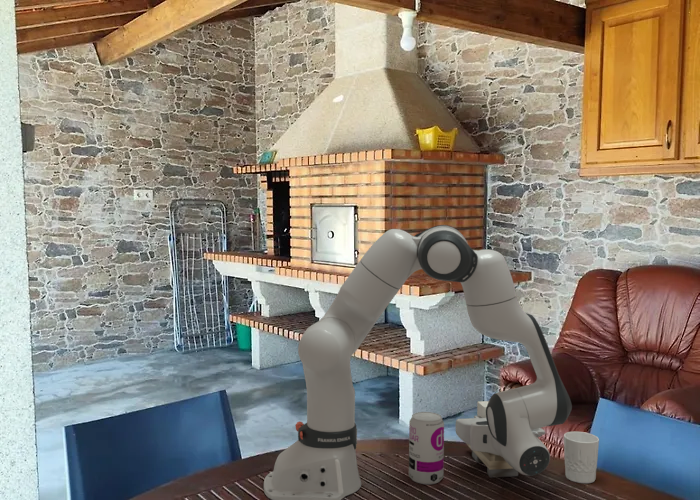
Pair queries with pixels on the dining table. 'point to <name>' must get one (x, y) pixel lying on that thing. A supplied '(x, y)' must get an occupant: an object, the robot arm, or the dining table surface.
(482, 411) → the rider
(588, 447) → the white cup
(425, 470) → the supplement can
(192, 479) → the dining table surface
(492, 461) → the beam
